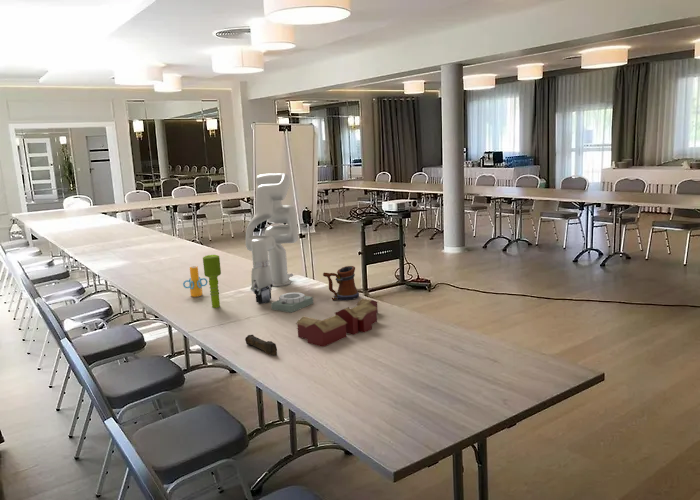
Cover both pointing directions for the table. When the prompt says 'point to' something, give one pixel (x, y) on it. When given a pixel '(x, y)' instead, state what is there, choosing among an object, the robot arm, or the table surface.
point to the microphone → (213, 276)
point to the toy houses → (339, 324)
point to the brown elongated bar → (262, 344)
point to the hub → (265, 295)
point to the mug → (343, 283)
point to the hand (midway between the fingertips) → (263, 300)
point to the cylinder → (195, 282)
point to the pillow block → (291, 302)
